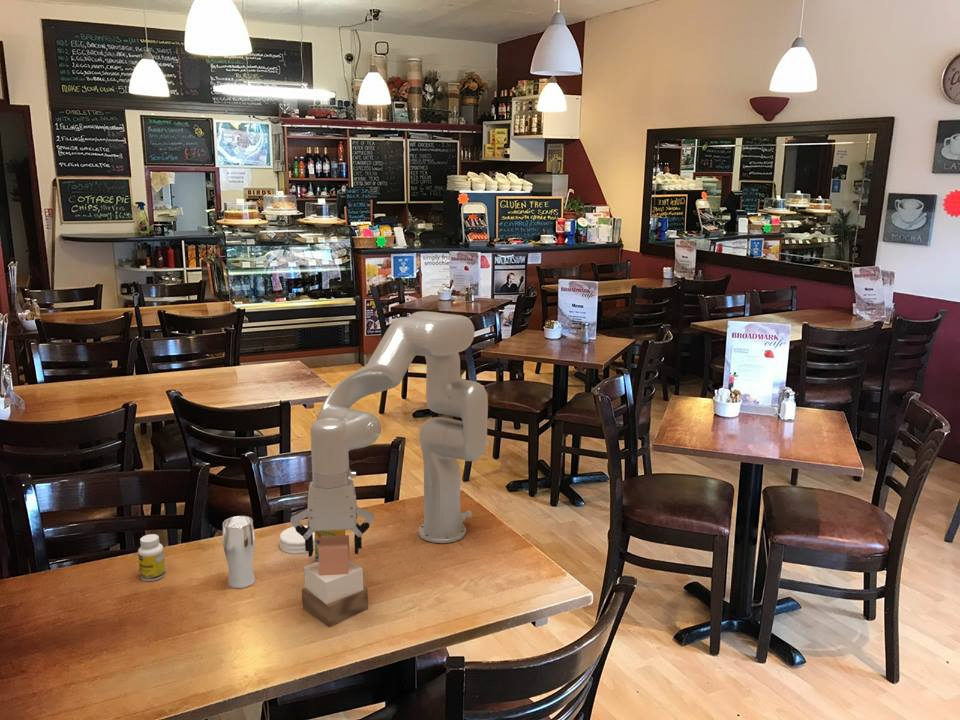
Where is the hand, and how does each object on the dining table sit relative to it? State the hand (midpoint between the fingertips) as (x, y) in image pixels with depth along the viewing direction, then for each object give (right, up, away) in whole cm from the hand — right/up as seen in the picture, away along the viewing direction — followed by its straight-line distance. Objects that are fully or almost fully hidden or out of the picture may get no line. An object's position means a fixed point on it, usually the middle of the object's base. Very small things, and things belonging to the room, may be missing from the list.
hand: (334, 552), depth 164 cm
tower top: (0, -8, +2) cm, 9 cm away
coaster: (-15, -7, +32) cm, 36 cm away
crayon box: (-5, -8, +23) cm, 25 cm away
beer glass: (-24, -10, +14) cm, 30 cm away
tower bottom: (0, -13, +3) cm, 14 cm away
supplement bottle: (-45, -10, +16) cm, 49 cm away
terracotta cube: (0, -3, +1) cm, 4 cm away
